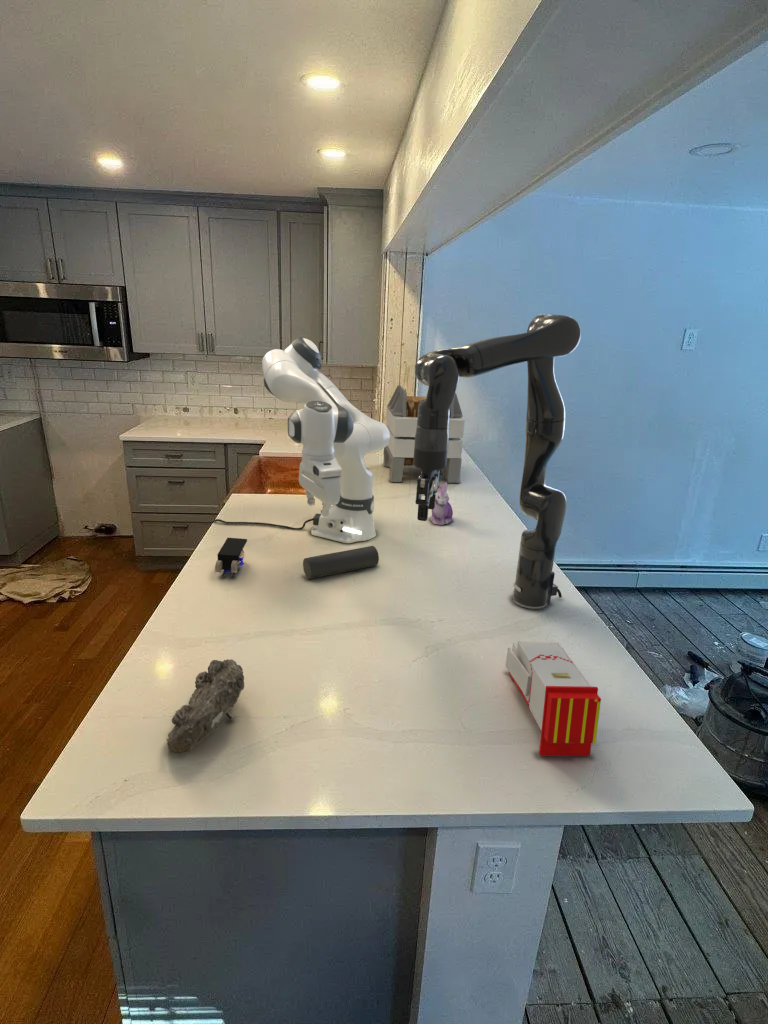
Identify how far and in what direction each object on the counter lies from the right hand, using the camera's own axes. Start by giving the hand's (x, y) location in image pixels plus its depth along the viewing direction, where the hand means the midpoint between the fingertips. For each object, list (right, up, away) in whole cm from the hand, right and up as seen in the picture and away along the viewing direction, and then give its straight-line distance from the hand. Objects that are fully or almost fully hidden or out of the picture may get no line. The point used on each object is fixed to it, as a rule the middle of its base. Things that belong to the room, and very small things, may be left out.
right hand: (426, 514), depth 132 cm
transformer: (+7, +19, +143) cm, 144 cm away
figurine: (+12, -3, +82) cm, 82 cm away
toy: (+22, -39, -17) cm, 48 cm away
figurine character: (-55, -17, +36) cm, 67 cm away
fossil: (-43, -39, -24) cm, 62 cm away
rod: (-23, -17, +38) cm, 47 cm away
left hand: (-28, +1, +27) cm, 39 cm away
